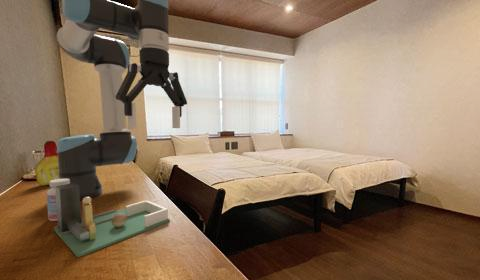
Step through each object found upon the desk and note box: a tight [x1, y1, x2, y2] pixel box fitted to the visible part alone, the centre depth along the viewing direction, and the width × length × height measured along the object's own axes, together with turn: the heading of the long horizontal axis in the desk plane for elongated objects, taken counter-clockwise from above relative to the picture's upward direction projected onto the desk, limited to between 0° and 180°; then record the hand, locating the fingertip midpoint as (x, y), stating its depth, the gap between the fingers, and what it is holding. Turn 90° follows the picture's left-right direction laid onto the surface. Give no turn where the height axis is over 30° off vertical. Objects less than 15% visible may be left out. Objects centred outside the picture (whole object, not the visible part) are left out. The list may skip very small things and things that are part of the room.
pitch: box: [54, 208, 171, 258], centre depth 60 cm, size 18×22×1 cm
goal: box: [124, 199, 169, 227], centre depth 65 cm, size 12×7×4 cm, turn 51°
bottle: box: [34, 140, 59, 186], centre depth 102 cm, size 12×6×20 cm, turn 138°
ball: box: [111, 213, 127, 227], centre depth 59 cm, size 4×4×4 cm
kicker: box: [55, 183, 96, 241], centre depth 54 cm, size 14×4×11 cm, turn 51°
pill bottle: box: [46, 179, 70, 222], centre depth 66 cm, size 6×6×11 cm
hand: (156, 128), depth 62 cm, fingers open, 13 cm apart
